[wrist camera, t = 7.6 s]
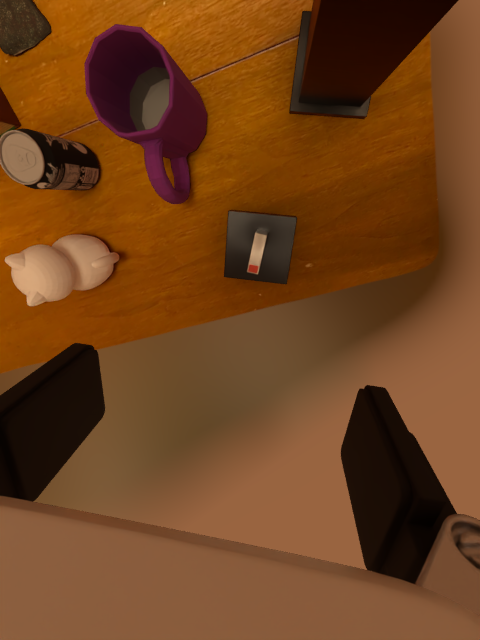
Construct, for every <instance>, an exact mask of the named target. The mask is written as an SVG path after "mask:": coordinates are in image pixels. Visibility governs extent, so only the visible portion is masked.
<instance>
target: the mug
mask: <svg viewBox="0 0 480 640" xmlns="http://www.w3.org/2000/svg"><path fill="white" fill-rule="evenodd" d="M85 80H86V94H87V96H88V98H89V100H90V102H91V104H92V106H93V108H94V111H95V113H96V115H97V117H98V119H99V121H101V122H102V123H103V124H104V125H106V126H107V127H108V128H109V129H110V130H112V131H113V132H114V133H115V134H116V135H118V136H119V137H122V138H124V139H127V140H130V141H132V142H135V143H138V144H140V145H142V147H143V148H144V149H145V165H146V169H147V173H148V177H149V179H150V182H151V184H152V186H153V188H154V189H155V191H156V192H157V194H158V195H159V196H160V197H161V198H163V199H164V200H165V201H167V202H169V203H171V204H181V203H183V202H185V201H186V200H187V199H188V197H189V193H190V177H189V170H188V164H187V160H186V157H187V155H188V154H189V153H191V152H193V151H195V150H196V149H197V148H198V146H199V144H200V143H201V141H202V140H203V138H204V136H205V135H206V124H207V112H206V110H205V107H204V104H203V102H202V99H201V96H200V94H199V93H198V91H197V90H196V89H195V87H194V86H193V85H192V84H191V82H190V81H189V80H188V78H187V77H186V76H185V74H184V73H183V72H182V70H181V69H180V68H179V67H178V65H177V64H176V63H175V61H174V60H173V59H172V57H171V56H170V55H169V54H168V52H167V51H166V50H165V48H164V47H163V46H162V45H161V44H160V43H158V42H157V41H156V40H155V39H154V38H153V37H152V36H151V35H149V34H148V33H147V32H146V31H145V30H144V29H143V28H142V27H134V26H126V25H118V24H115V25H114V26H112V27H111V28H109V29H108V30H106V31H105V32H103V33H102V34H100V35H99V36H97V37H96V38H95V39H94V42H93V44H92V47H91V49H90V52H89V54H88V57H87V59H86V62H85ZM163 157H166V158H169V159H170V160H171V168H172V171H173V175H174V184H175V189H174V188H173V186H172V184H171V182H170V180H169V178H168V176H167V174H166V171H165V168H164V163H163Z"/></svg>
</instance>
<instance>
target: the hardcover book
mask: <svg viewBox="0 0 480 640" xmlns="http://www.w3.org/2000/svg"><path fill="white" fill-rule="evenodd" d="M19 126H21V124H20V122H19V120H18V118H17V117H16V115H15V113H14V111H13V109H12V108H11V106H10V104H9V102H8V100H7V99H6V97H5V95H4V93H3V91H2V90H1V88H0V138H1V136H2V135H3V134H4V133H6V132H8V131H11V130H14V129H16V128H18V127H19Z"/></svg>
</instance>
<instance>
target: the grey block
mask: <svg viewBox="0 0 480 640" xmlns="http://www.w3.org/2000/svg"><path fill="white" fill-rule="evenodd" d="M267 234H268V232H267V231H263V230H258V229H257V231H256V233H255V236H254V241H253V246H252V250H251V255H250V260H249V264H248V269H247V272H249V273H253V274H258V272H259V268H260V264H261V260H262V255H263V251H264V247H265V242H266V238H267Z"/></svg>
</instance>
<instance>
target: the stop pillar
mask: <svg viewBox="0 0 480 640" xmlns="http://www.w3.org/2000/svg"><path fill="white" fill-rule="evenodd" d="M457 1H458V0H313V6H312V11H303V12H302V19H301V27H300V34H299V42H298V50H297V58H296V66H295V73H294V81H293V89H292V97H291V104H290V112H289V113H291V114H305V115H318V116H332V117H345V118H359V119H364V118H366V117H367V112H368V108H369V103H370V99H371V95H372V94H373V93H374V92H375V91H376V89H377V88H378V87H379V86H380V85H381V84H382V83H383V82H384V81H385V80H386V79H387V78H388V76H389V75H390V74H391V73H392V72H393V71H394V70H395V69H396V68H397V67H398V66H399V64H400V63H401V62H402V61H403V60H404V59H405V58H406V57H407V56H408V55H409V54H410V52H411V51H412V50H413V49H414V48H415V47H416V46H417V45H418V44H419V43H420V42H421V40H422V39H423V38H424V37H425V36H426V35H427V34H428V33H429V32H430V31H431V30H432V28H433V27H434V26H435V25H436V24H437V23H438V22H439V21H440V20H441V18H443V16H444V15H445V14H446V13H447V12H448V11H449V10H450V9H451V8H452V6H453V5H454V4H455V3H456V2H457Z"/></svg>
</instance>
